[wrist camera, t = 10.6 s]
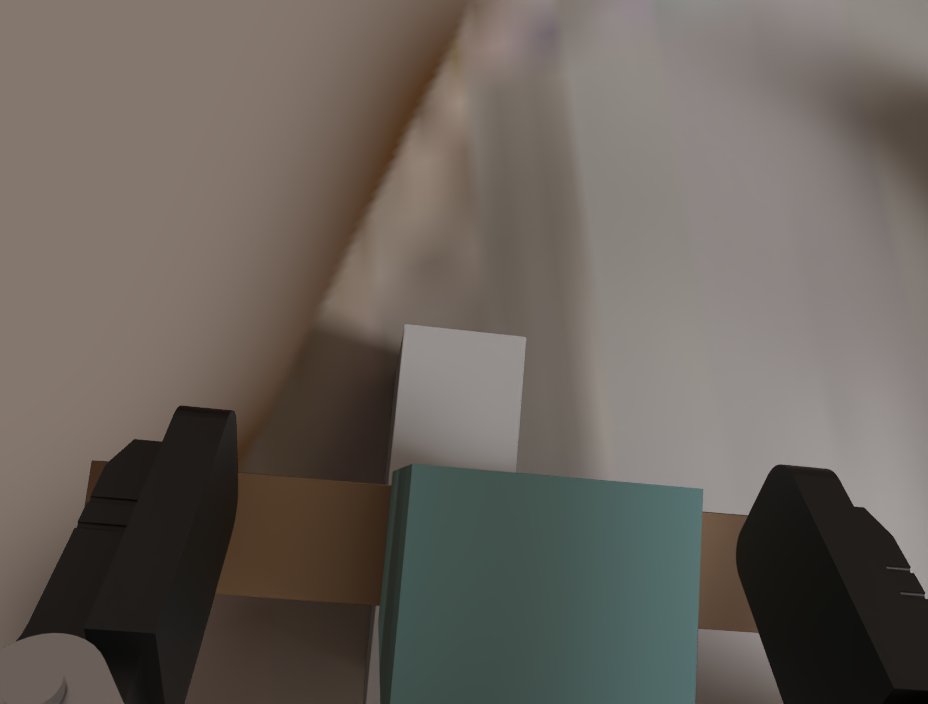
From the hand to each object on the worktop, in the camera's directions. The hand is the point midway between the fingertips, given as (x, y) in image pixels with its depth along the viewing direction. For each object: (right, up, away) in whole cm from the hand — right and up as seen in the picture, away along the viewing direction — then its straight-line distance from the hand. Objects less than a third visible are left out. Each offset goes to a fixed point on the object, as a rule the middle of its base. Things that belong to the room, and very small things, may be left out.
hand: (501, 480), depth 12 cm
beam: (-1, -3, +7) cm, 8 cm away
